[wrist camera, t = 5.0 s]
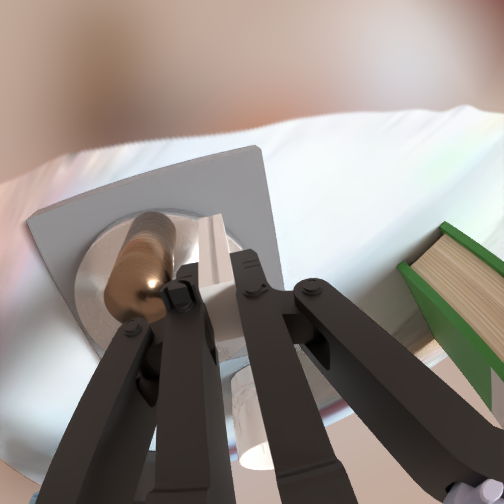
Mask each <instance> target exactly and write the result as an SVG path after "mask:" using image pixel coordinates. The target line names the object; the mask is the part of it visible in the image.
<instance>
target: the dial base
mask: <svg viewBox="0 0 504 504" xmlns="http://www.w3.org/2000/svg"><path fill="white" fill-rule="evenodd" d="M153 208H175V209H183V210H187V211H192V212H196V213H198V214H201V215H204V216H206V217H208V216H212V215H216V214H222V218H223V223H224V227H225V228H227V229H228V230H229V231H230V232H232V233H233V234H234V235H235V236H236V237H237V238H238V239H239V240H240V242H241V243H242V244H243V245H244V247H245V248H246V249H252V250H253V251H255V252H256V253H257V254H258V257H259V260H260V263H261V266H262V268H263V271H264V274H265V277H266V279H267V282H268V283H269V285H270V286H271V287H272V288H274V289H276V290H281V291H285V289H284V283H283V276H282V270H281V264H280V257H279V251H278V245H277V239H276V233H275V227H274V221H273V215H272V209H271V203H270V197H269V191H268V185H267V180H266V174H265V168H264V163H263V157H262V152H261V149H260V148H259V147H257V146H256V145H253V146H248V147H243V148H238V149H234V150H229V151H225V152H221V153H216V154H212V155H208V156H204V157H200V158H196V159H192V160H188V161H184V162H181V163H177V164H173V165H170V166H166V167H162V168H159V169H155V170H152V171H149V172H145V173H142V174H139V175H135V176H132V177H129V178H126V179H123V180H120V181H117V182H113V183H110V184H107V185H105V186H102V187H99V188H96V189H93V190H90V191H87V192H84V193H82V194H79V195H76V196H74V197H71V198H68V199H66V200H63V201H60V202H58V203H55V204H53V205H50V206H48V207H45V208H43V209H40V210H38V211H36V212H35V213H34V214H33V215H32V216H30V217H29V218H28V219H27V220H26V221H27V224H28V226H29V229H30V231H31V233H32V236H33V238H34V240H35V242H36V245H37V247H38V249H39V251H40V253H41V255H42V258H43V260H44V262H45V264H46V266H47V268H48V270H49V272H50V274H51V276H52V278H53V280H54V282H55V283H56V285H57V287H58V289H59V291H60V293H61V295H62V296H63V298H64V300H65V302H66V303H67V305H68V307H69V309H70V310H71V312H72V314H73V316H74V317H75V319H76V321H77V322H78V324H79V325H80V327H81V329H82V330H83V332H84V333H85V335H86V337H87V338H88V340H89V341H90V343H91V344H92V346H93V347H94V349H95V350H96V352H97V353H98V355H99V356H100V358H101V359H102V357H103V355H104V353H105V350H104V349H102V348H101V347H100V346H99V345H98V344H97V343H96V342H95V341H94V340H93V338H92V337H91V336H90V335H89V333H88V332H87V330H86V329H85V327H84V326H83V323H82V321H81V319H80V317H79V314H78V311H77V308H76V303H75V293H74V288H75V280H76V275H77V272H78V269H79V266H80V264H81V262H82V260H83V258H84V257H85V255H86V253H87V251H88V250H89V248H90V246H91V245H92V243H93V242H94V240H95V239H96V238H97V237H98V235H99V234H100V233H101V232H102V231H103V230H105V229H106V228H107V227H108V226H109V225H111V224H112V223H114V222H115V221H117V220H118V219H120V218H122V217H124V216H127V215H129V214H132V213H135V212H138V211H141V210H147V209H153ZM244 356H248V352H247V347H246V344H245V345H244V346H243V347H242V348H241V349H240V350H239V351H238V352H237V353H235V354H234V355H232V356H231V357H230V358H228V359H226V360H225V361H227V360H231V359H235V358H240V357H244Z"/></svg>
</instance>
